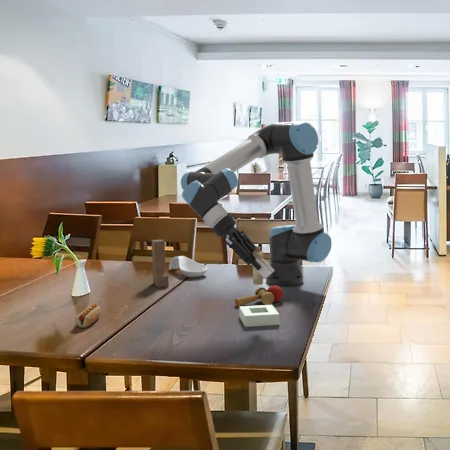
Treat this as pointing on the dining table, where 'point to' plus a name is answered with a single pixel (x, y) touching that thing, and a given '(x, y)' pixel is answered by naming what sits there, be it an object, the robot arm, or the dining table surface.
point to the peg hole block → (258, 315)
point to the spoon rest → (188, 266)
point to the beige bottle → (256, 275)
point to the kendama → (262, 296)
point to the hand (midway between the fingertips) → (269, 274)
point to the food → (88, 316)
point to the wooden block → (159, 264)
